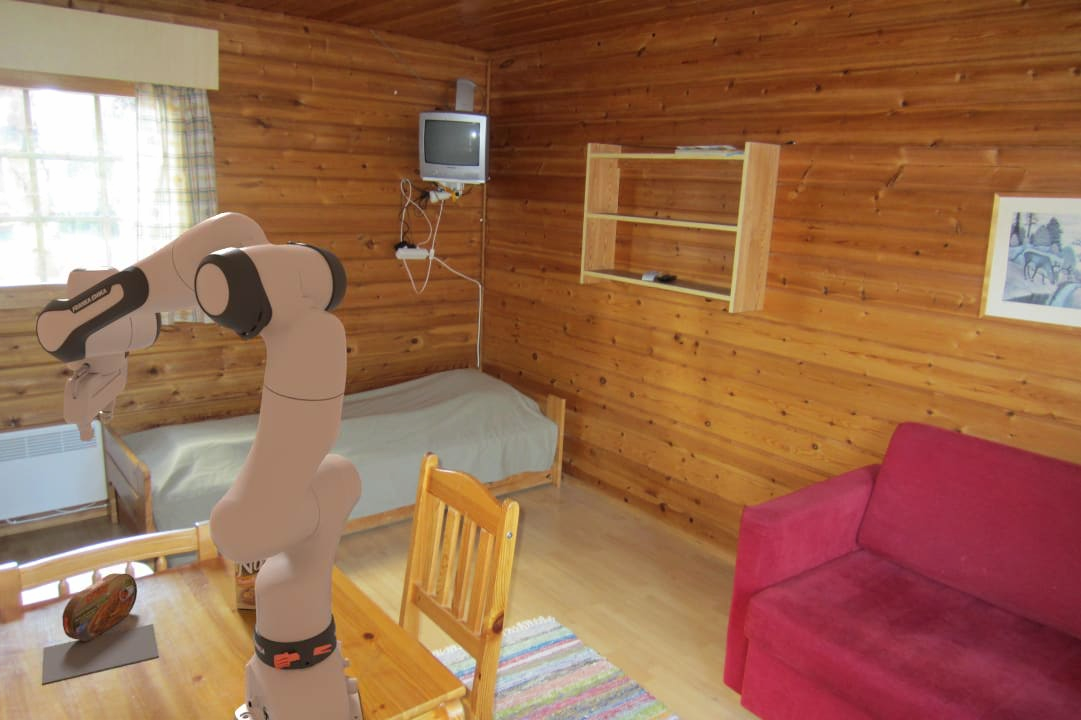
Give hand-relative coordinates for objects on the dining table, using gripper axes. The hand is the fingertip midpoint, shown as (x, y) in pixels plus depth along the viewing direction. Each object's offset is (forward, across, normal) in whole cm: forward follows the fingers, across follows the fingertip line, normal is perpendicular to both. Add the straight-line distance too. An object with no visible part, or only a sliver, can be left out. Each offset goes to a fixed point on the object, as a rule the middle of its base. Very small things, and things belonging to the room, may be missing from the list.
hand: (97, 430), depth 146 cm
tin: (+34, -10, -4) cm, 36 cm away
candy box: (+32, -5, -31) cm, 45 cm away
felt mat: (+33, -18, -6) cm, 39 cm away
